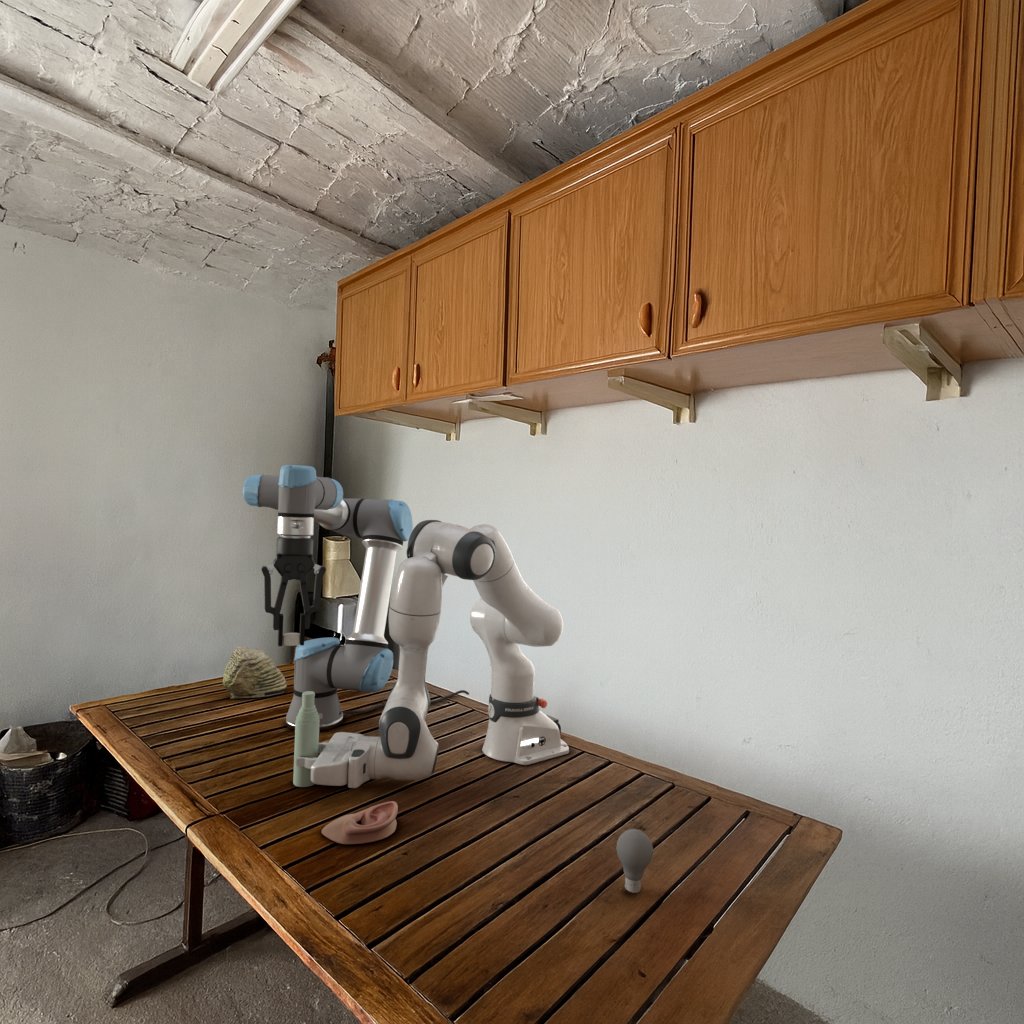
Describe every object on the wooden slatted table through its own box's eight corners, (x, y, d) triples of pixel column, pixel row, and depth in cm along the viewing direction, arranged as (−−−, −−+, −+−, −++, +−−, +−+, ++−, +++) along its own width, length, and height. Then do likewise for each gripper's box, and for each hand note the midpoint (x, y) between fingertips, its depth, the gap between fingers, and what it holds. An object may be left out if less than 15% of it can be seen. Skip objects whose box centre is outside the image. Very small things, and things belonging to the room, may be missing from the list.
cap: (279, 645, 135) (280, 636, 135) (283, 641, 139) (283, 632, 139) (298, 646, 136) (299, 636, 136) (301, 642, 140) (302, 632, 140)
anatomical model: (313, 818, 117) (342, 790, 128) (313, 839, 117) (341, 810, 128) (381, 829, 114) (404, 800, 125) (380, 850, 114) (403, 819, 125)
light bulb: (610, 879, 108) (613, 822, 108) (644, 879, 109) (647, 822, 109) (619, 902, 102) (622, 840, 102) (655, 901, 103) (658, 840, 103)
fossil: (218, 695, 195) (220, 647, 195) (278, 685, 208) (279, 640, 207) (228, 703, 189) (230, 653, 188) (289, 692, 201) (290, 645, 201)
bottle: (298, 776, 143) (302, 688, 143) (320, 777, 143) (324, 690, 142) (289, 786, 138) (292, 695, 138) (311, 788, 138) (315, 697, 137)
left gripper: (253, 536, 130) (249, 650, 130) (337, 538, 137) (333, 646, 137) (252, 534, 137) (248, 642, 137) (332, 536, 144) (328, 639, 144)
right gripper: (374, 726, 151) (316, 724, 150) (355, 761, 130) (287, 759, 130) (373, 752, 151) (315, 750, 151) (353, 792, 130) (286, 789, 130)
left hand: (290, 644), depth 137 cm, fingers closed on cap, 4 cm apart
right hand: (302, 754), depth 140 cm, fingers closed on bottle, 5 cm apart
